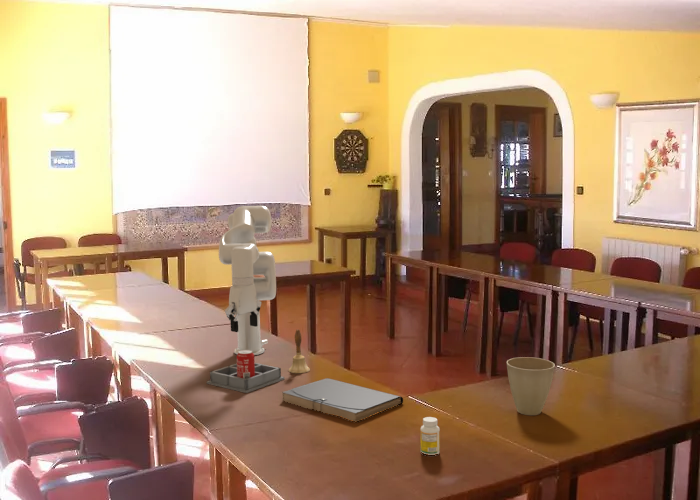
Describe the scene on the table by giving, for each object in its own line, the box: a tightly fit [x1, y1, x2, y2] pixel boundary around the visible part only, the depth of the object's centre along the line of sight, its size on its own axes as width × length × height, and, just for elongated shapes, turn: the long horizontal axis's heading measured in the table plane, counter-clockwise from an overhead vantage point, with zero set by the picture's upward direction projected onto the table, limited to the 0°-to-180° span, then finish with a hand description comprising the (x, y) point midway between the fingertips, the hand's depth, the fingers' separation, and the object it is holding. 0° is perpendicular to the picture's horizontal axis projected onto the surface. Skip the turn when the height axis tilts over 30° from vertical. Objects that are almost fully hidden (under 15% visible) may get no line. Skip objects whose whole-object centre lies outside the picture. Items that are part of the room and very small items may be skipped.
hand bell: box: [287, 329, 311, 374], centre depth 295 cm, size 8×8×16 cm
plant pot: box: [506, 356, 556, 416], centre depth 245 cm, size 15×15×16 cm
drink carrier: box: [206, 362, 285, 394], centre depth 282 cm, size 20×20×4 cm
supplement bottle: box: [419, 416, 441, 456], centre depth 213 cm, size 5×5×10 cm
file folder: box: [281, 377, 404, 423], centre depth 257 cm, size 33×4×24 cm
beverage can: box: [236, 350, 256, 379], centre depth 276 cm, size 6×6×12 cm
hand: (244, 328), depth 274 cm, fingers open, 9 cm apart
